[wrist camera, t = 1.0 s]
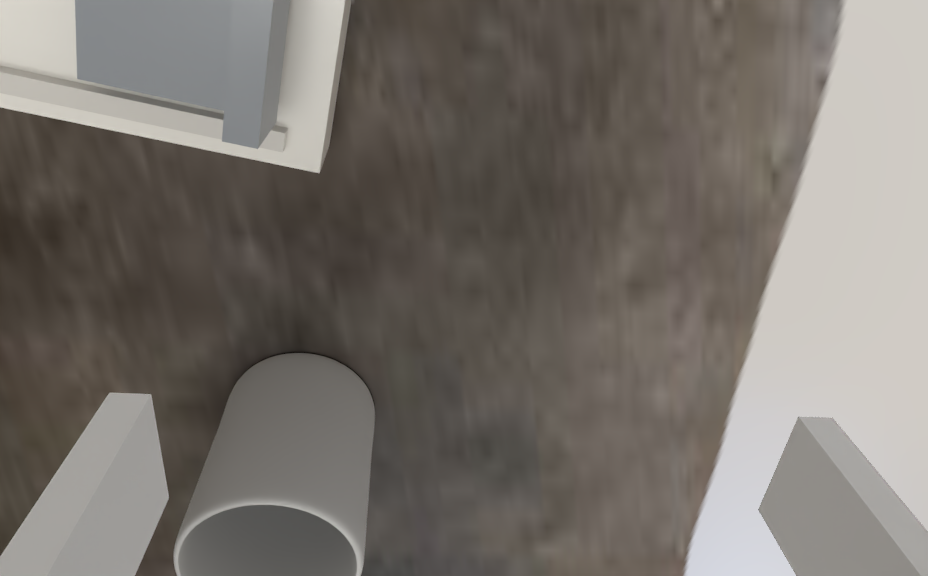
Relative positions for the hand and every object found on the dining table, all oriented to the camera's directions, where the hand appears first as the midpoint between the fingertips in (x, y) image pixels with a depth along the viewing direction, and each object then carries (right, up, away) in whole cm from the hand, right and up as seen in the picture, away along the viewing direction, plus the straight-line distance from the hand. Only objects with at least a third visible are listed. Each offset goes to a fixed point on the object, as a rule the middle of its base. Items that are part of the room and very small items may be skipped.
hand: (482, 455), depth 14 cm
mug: (-10, -5, +26) cm, 29 cm away
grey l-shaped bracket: (-10, +14, +10) cm, 21 cm away
